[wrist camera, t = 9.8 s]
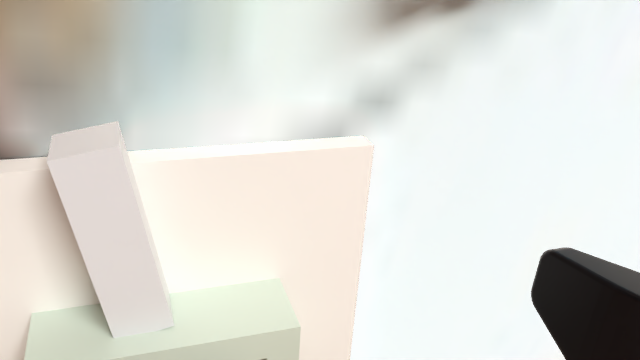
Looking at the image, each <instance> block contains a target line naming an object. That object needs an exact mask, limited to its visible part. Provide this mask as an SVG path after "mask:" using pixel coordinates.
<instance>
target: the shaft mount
mask: <svg viewBox="0 0 640 360" xmlns="http://www.w3.org/2000/svg"><path fill="white" fill-rule="evenodd" d="M373 150H374V145H373V144H372V143H371V142H370V141H369V140H368V139H367V138H366V137H365V136H349V137H334V138H319V139H304V140H289V141H275V142H260V143H245V144H230V145H215V146H200V147H186V148H171V149H156V150H141V151H127V149H126V146H125V142H124V139H123V136H122V132H121V129H120V126H119V122H118V121H116V122H111V123H106V124H102V125H97V126H92V127H88V128H83V129H78V130H73V131H69V132H64V133H59V134H55V135H52V137H51V142H50V147H49V152H48V157H37V158H22V159H8V160H0V360H350V352H351V343H352V335H353V326H354V317H355V308H356V299H357V291H358V282H359V273H360V264H361V255H362V247H363V238H364V229H365V220H366V211H367V202H368V194H369V185H370V176H371V167H372V158H373Z"/></svg>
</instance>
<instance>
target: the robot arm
mask: <svg viewBox="0 0 640 360" xmlns="http://www.w3.org/2000/svg"><path fill="white" fill-rule="evenodd" d="M531 297H532V302H533V305H534V307H535V308H536V310H537V312H538V313H539V315H540V317H541V318H542V320H543V322H544V324H545V325H546V327H547V329H548V330H549V332H550V334H551V335H552V337H553V339H554V340H555V342H556V344H557V345H558V347H559V349H560V350H561V352H562V354H563V356H564V357H565V359H566V360H640V273H639V272H636V271H633V270H631V269H628V268H625V267H622V266H619V265H617V264H614V263H611V262H608V261H605V260H603V259H600V258H597V257H594V256H592V255H589V254H586V253H583V252H580V251H578V250H575V249H572V248H558V249H551V250H547V251H545V252H544V253H543V255H542V256H541V258H540V261H539V265H538V268H537V272H536V275H535V279H534V282H533V286H532V290H531Z"/></svg>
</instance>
